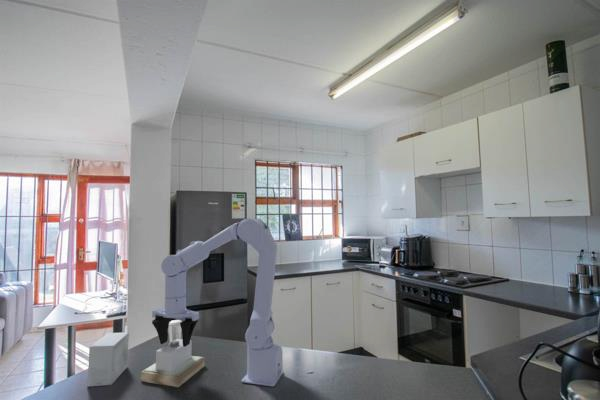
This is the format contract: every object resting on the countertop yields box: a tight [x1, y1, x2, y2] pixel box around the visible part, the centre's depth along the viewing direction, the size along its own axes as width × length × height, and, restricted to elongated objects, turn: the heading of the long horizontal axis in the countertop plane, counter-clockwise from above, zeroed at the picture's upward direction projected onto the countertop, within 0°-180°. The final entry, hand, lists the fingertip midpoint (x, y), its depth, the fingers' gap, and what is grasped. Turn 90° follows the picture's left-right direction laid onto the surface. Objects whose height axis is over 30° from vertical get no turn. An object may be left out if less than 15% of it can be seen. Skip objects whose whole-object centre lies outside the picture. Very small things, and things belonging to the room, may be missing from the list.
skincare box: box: [86, 331, 130, 388], centre depth 86 cm, size 10×6×10 cm, turn 9°
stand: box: [140, 355, 206, 388], centre depth 87 cm, size 12×12×3 cm
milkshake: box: [168, 319, 183, 343], centre depth 106 cm, size 5×5×10 cm
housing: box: [155, 338, 193, 372], centre depth 87 cm, size 9×5×6 cm, turn 165°
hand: (174, 343), depth 87 cm, fingers open, 7 cm apart
